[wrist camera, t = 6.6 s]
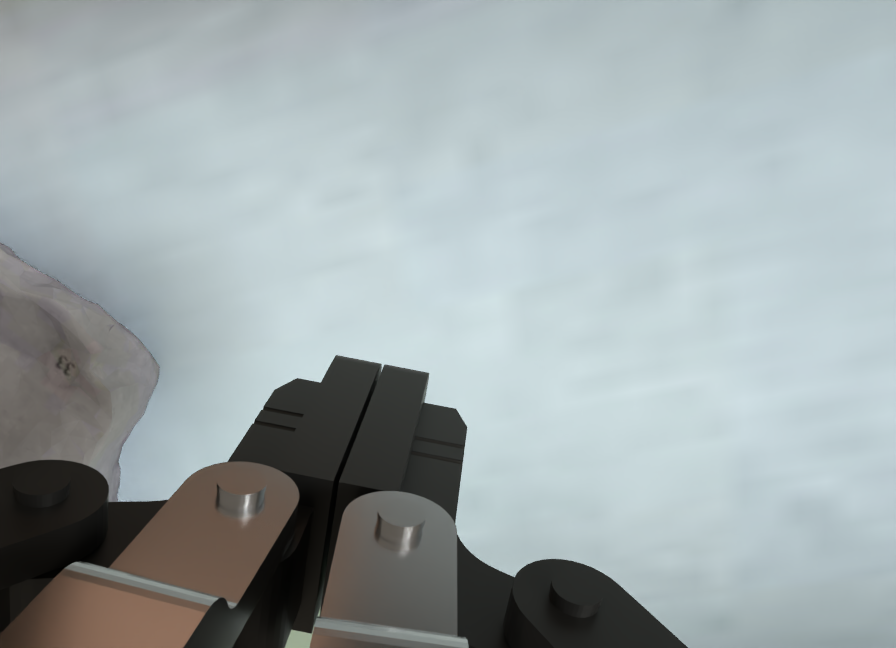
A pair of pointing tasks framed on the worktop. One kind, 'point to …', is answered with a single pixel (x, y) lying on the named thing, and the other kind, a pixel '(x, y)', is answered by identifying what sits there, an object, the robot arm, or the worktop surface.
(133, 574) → the robot arm
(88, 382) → the stone block
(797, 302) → the worktop surface
